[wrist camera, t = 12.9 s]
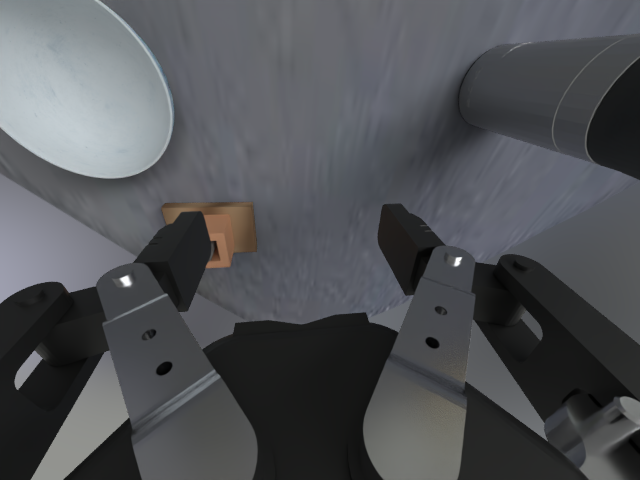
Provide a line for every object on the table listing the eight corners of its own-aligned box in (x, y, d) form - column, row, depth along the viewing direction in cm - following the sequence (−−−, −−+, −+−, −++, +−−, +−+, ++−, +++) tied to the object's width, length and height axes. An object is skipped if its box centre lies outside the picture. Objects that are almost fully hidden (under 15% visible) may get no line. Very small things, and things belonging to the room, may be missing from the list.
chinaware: (111, -45, 23) (49, -86, 16) (220, 119, 31) (207, 133, 25) (-9, 46, 25) (-106, 40, 19) (124, 176, 33) (89, 203, 27)
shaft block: (252, 202, 38) (248, 228, 32) (257, 246, 42) (254, 277, 36) (164, 203, 36) (142, 231, 30) (179, 249, 40) (162, 282, 34)
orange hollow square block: (229, 214, 37) (223, 233, 33) (234, 246, 40) (230, 266, 36) (188, 215, 36) (176, 234, 32) (196, 247, 39) (187, 269, 35)
